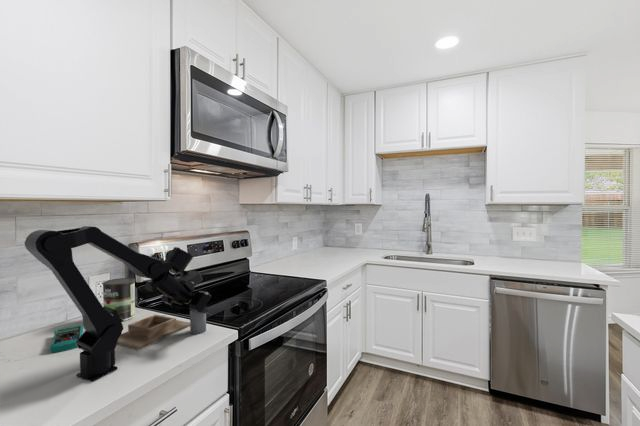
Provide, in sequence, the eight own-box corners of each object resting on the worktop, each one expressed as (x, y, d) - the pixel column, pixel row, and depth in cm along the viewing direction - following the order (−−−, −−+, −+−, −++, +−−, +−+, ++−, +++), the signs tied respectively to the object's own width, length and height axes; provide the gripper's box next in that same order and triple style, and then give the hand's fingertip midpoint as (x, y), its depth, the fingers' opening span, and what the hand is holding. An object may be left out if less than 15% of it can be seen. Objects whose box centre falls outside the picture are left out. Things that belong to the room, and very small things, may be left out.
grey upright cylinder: (198, 335, 102) (197, 298, 102) (187, 332, 104) (186, 297, 103) (209, 329, 106) (208, 294, 106) (198, 327, 108) (197, 293, 108)
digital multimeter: (49, 355, 89) (49, 345, 89) (54, 337, 101) (54, 328, 101) (81, 348, 94) (81, 339, 94) (83, 332, 106) (83, 323, 106)
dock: (139, 349, 92) (139, 336, 92) (108, 341, 97) (108, 329, 97) (191, 325, 110) (191, 314, 110) (163, 319, 116) (163, 309, 116)
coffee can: (119, 323, 112) (118, 285, 111) (96, 321, 114) (95, 283, 114) (142, 314, 122) (141, 278, 121) (120, 312, 124) (119, 277, 124)
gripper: (205, 267, 96) (233, 293, 106) (169, 261, 106) (197, 286, 116) (183, 299, 90) (215, 324, 100) (147, 290, 99) (179, 313, 109)
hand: (201, 310), depth 106 cm, fingers closed on grey upright cylinder, 5 cm apart
